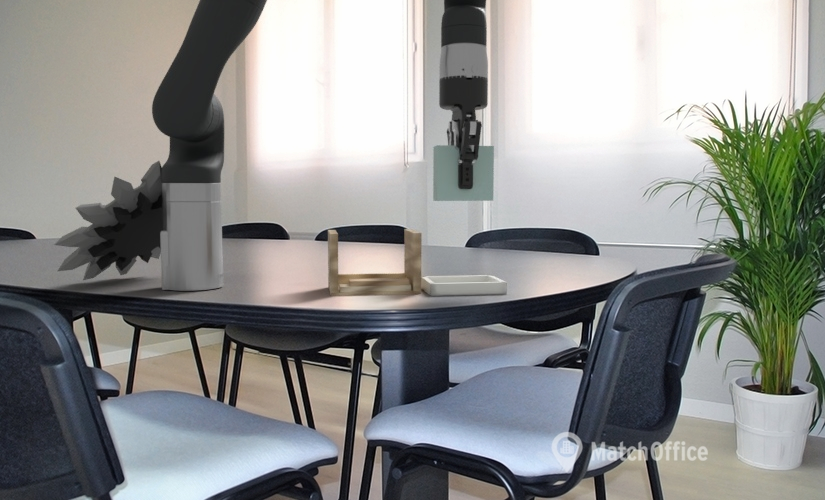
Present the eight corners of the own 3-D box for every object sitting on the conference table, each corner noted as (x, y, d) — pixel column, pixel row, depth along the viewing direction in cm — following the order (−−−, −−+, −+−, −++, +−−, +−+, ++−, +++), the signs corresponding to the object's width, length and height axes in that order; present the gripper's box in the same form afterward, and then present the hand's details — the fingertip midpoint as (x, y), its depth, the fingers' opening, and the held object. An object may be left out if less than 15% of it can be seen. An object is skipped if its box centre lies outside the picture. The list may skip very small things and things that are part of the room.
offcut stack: (340, 292, 103) (340, 281, 103) (339, 289, 106) (339, 279, 105) (411, 290, 104) (411, 280, 104) (408, 287, 107) (408, 277, 107)
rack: (330, 296, 102) (329, 233, 101) (328, 287, 112) (327, 229, 111) (421, 294, 104) (421, 232, 103) (411, 285, 114) (411, 229, 113)
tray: (430, 296, 102) (430, 283, 102) (420, 288, 111) (420, 276, 111) (506, 295, 104) (507, 282, 104) (491, 286, 113) (491, 275, 112)
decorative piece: (93, 314, 124) (29, 242, 97) (82, 299, 125) (16, 223, 98) (231, 226, 135) (208, 140, 108) (220, 213, 136) (195, 124, 110)
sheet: (436, 200, 104) (437, 145, 103) (433, 200, 107) (433, 146, 106) (493, 200, 105) (493, 145, 104) (488, 200, 108) (488, 147, 107)
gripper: (431, 84, 111) (431, 189, 112) (449, 68, 97) (448, 189, 98) (475, 85, 112) (475, 189, 113) (499, 70, 98) (498, 189, 99)
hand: (462, 188), depth 106 cm, fingers closed on sheet, 3 cm apart
